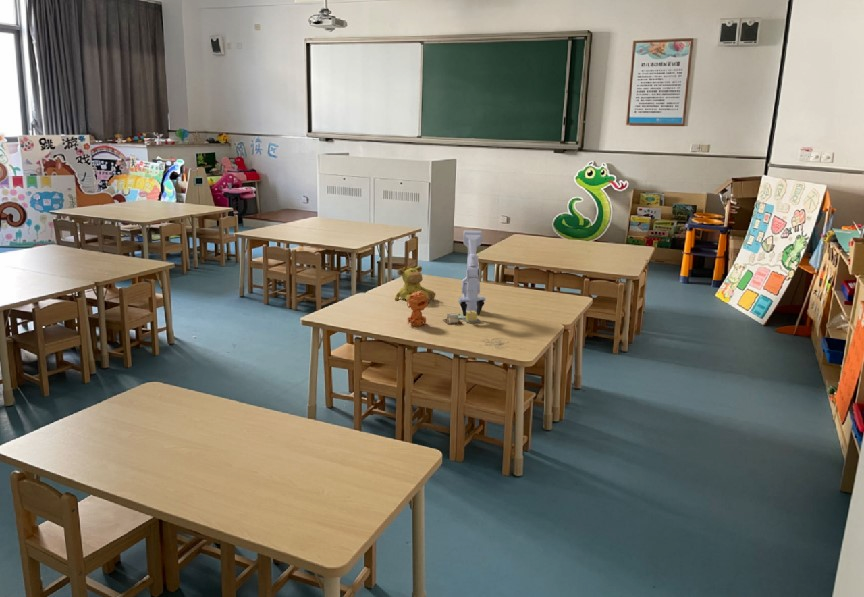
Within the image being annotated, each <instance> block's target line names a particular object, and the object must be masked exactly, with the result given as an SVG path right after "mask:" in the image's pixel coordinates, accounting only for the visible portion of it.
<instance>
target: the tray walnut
mask: <svg viewBox="0 0 864 597" xmlns="http://www.w3.org/2000/svg"><path fill="white" fill-rule="evenodd" d="M442 321H443V322H444V323H445V324H447V325H448V326H450V325H461V324H463V321H461V319H458V322H455V323H448V322H447V318H443V319H442Z"/></svg>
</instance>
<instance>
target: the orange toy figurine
mask: <svg viewBox="0 0 864 597" xmlns="http://www.w3.org/2000/svg"><path fill="white" fill-rule="evenodd" d="M421 291H422V290H421ZM421 291H418V292H414V293H412V295H410V296H409V297H408V299H409V302H408V299H407V301H406V306H407V307H408V309H411V315H410V316H408V317H407V325H408V324H410V325H411V326H412V325H413V326H412V327H415V326H417V327H421V325H422V326H423V325H426V324H427V317H426V316H423V312H422V311H424V310H425V309H426V308H427V306H428V303H429V302H430V301H424V300H426V299H427V296H426V294H424V293H423V292H421Z"/></svg>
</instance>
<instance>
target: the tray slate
mask: <svg viewBox="0 0 864 597" xmlns="http://www.w3.org/2000/svg"><path fill="white" fill-rule="evenodd" d="M465 318H466V316H465V317H463V318H462V319H461V320H463V322H465V323H466V324H472V323H481V321H482V320H481V319H479V318H478V317H477V321H467V320H465Z"/></svg>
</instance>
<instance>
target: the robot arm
mask: <svg viewBox="0 0 864 597" xmlns="http://www.w3.org/2000/svg"><path fill="white" fill-rule="evenodd" d="M462 234H463V235H462V236H463V237H462V238H463V239H462V240H463V241H462V242H463V245H464V246H465V247H467V258H466V259H467V261H466V262H467V268H466V272H465V273H466V276H465V278H462V281H461V294H462V295H461V297H460V298H458V299H457V303H459V305H460V307H459V309H460V310H461V311H462V315H463V316H465V317H466V311H475V312H476V313H477V316H480V315H481V310H482V309H483V306H485V302H486V299H487V298H486V297H485V296H478V295H479V294H480V293H481V282H480V272H481V271H480V265H479V264H480V263H479V256H478V255H477V251H478V250H477V249H478V247H480V246H481V244H482V241H483V231H482V230H466V229H465V230H463V233H462Z"/></svg>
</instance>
